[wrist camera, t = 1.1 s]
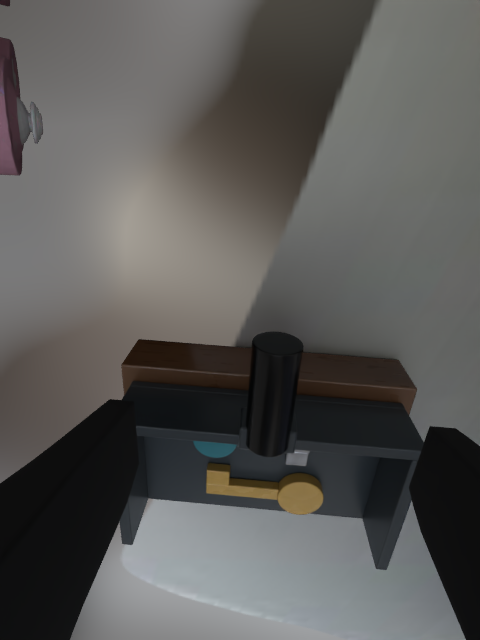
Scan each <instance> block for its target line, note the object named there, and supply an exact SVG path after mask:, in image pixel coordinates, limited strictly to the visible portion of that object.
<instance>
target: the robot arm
mask: <svg viewBox="0 0 480 640" xmlns="http://www.w3.org/2000/svg"><path fill="white" fill-rule="evenodd" d="M138 465H139V456H138V444H137V431H136V418H135V406H134V401H124V400H112V399H110V400H108V401H107V402H106V403H105V404H104V405H102V406H101V407H100V408H98V409H97V410H96V411H94V412H93V413H92V414H91V415H90V416H89V417H87V418H86V419H85V420H83V421H82V422H81V423H80V424H78V425H77V426H76V427H75V428H73V429H72V430H71V431H70V432H68V433H67V434H66V435H65V436H64V437H62V438H61V439H60V440H58V441H57V442H56V443H54V444H53V445H52V446H51V447H50V448H48V449H47V450H45V451H44V452H43V453H42V454H40V455H39V456H38V457H36V458H35V459H34V460H32V461H31V462H30V463H28V464H27V465H25V466H24V467H23V468H21V469H20V470H19V471H17V472H16V473H14V474H13V475H11V476H10V477H9V478H7V479H6V480H5V481H3V482H2V483H0V640H70V638H71V635H72V632H73V630H74V627H75V624H76V622H77V619H78V617H79V614H80V612H81V609H82V606H83V604H84V602H85V599H86V597H87V595H88V593H89V590H90V588H91V586H92V583H93V581H94V579H95V577H96V574H97V572H98V569H99V567H100V565H101V563H102V560H103V558H104V556H105V554H106V551H107V549H108V547H109V544H110V542H111V540H112V537H113V535H114V533H115V530H116V528H117V525H118V523H119V521H120V519H121V516H122V514H123V512H124V509H125V507H126V504H127V502H128V498H129V495H130V492H131V489H132V486H133V482H134V479H135V476H136V472H137V469H138ZM409 491H410V495H411V498H412V502H413V506H414V510H415V513H416V516H417V520H418V523H419V526H420V530H421V533H422V535H423V538H424V540H425V543H426V545H427V548H428V550H429V552H430V555H431V557H432V560H433V562H434V564H435V567H436V569H437V572H438V574H439V576H440V579H441V581H442V584H443V586H444V588H445V591H446V593H447V595H448V598H449V600H450V603H451V605H452V607H453V610H454V612H455V614H456V617H457V619H458V622H459V624H460V626H461V629H462V631H463V633H464V636H465V638H466V640H480V446H478V445H477V444H476V443H475V442H473V441H472V440H471V439H469V438H468V437H467V436H465V435H464V434H463V433H461V432H460V431H459V430H457V429H456V428H444V427H432V426H430V427H429V430H428V433H427V436H426V439H425V442H424V445H423V447H422V450H421V453H420V456H419V459H418V462H417V465H416V468H415V471H414V473H413V476H412V479H411V482H410V485H409Z"/></svg>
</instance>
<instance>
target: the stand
mask: <svg viewBox="0 0 480 640" xmlns="http://www.w3.org/2000/svg"><path fill="white" fill-rule="evenodd" d="M251 350H252V348H242V347H229V346H217V345H203V344H191V343H179V342H165V341H154V340H141V339H139V340H138V341H137V343H136V344H135V346H134V347H133V348H132V350H131V351H130V353H129V354H128V356H127V357H126V359H125V360H124V362H123V363H122V377H123V387H124V395H125V394H126V392H127V390H128V388H129V387H130V385H131V383H132V381H141V382H153V383H165V384H177V385H189V386H201V387H213V388H225V389H236V390H248V388H249V376H250V363H251ZM416 392H417V388H416V386H415V385H414V383H413V382H412V380H411V379H410V377H409V375H408V374H407V372H406V371H405V369H404V368H403V366H402V365H401V363H400V362H399V360H392V359H380V358H367V357H355V356H342V355H330V354H317V353H304V352H303V354H302V361H301V367H300V374H299V381H298V388H297V395H308V396H320V397H332V398H344V399H356V400H368V401H380V402H392V403H402V404H403V405H404V407H405V410H406V411H407V413H408V415H409V414H410V411H411V408H412V404H413V401H414V398H415V395H416Z"/></svg>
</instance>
